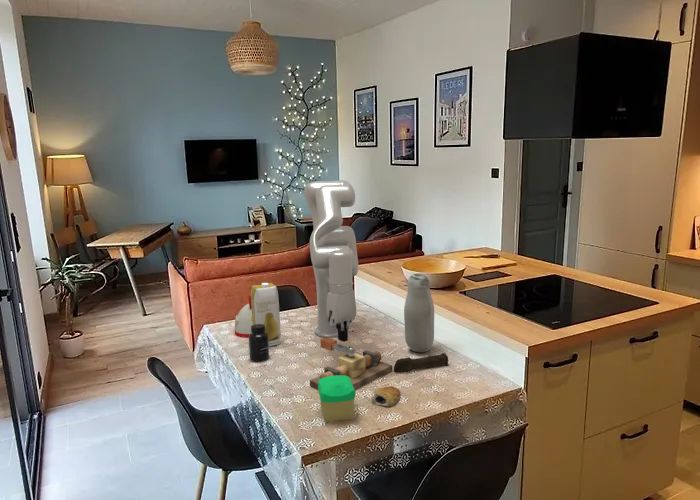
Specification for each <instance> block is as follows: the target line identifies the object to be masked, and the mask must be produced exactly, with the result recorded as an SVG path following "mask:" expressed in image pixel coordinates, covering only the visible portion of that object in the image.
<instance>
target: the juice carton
mask: <svg viewBox="0 0 700 500" xmlns="http://www.w3.org/2000/svg"><path fill="white" fill-rule="evenodd" d="M250 296H251V306H252V320H253V325H255V324H263V325H265V332H266V333H267V334H268V340H269V347H274V346H278V345H280V344H281V318H280V317H281V316H280V303H279V292H278V288H277V286H276V285H275V284H274V283H272V282H269V283H268V282H261V284H259V285H257V284H256V285H251V290H250Z"/></svg>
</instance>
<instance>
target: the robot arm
mask: <svg viewBox="0 0 700 500" xmlns="http://www.w3.org/2000/svg"><path fill="white" fill-rule="evenodd" d="M304 199H305V202H306V205H307V207H308V210H309V212H310V215H311V217H312V226H313V227H312V228H313V230H312V232H311V235H310V238H309V253H310V259H311V264H312V267H313V273H314V274H313V275H314V277H315V278H314V279H315V287H316V289H315V290H316V309H317V327H315V328H314V334H315V336H318V337H320V338H321V337H322V338H326V337H327V338H337V341H340V342H343V343H345V342H348V341H349V331H348V330H349V329H350V325H351V323H352V322H354V321H355V319H356V316H357V303H356V295H355V290H354V289H353V285H354V281H353V278H354V277H355V276H357V275H358V274H359V273H358V272H359V258H358V251H357V250H358V249H357V240H356V235H355V231H354V229H353V228H352V227H351V226H349V225H343V222H344V218H343V214H342V209H341V208H351V207H353V206H354V205H355V202H356V193H355V189H354V187H353V185H352V184H351V183H350V182H349V181H348V180H341V179H340V180H338V179H337V180H318V181H311V182H309V183H307V184H305V186H304Z"/></svg>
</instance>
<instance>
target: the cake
mask: <svg viewBox="0 0 700 500" xmlns="http://www.w3.org/2000/svg"><path fill="white" fill-rule="evenodd" d="M317 392H318V395H319V400H320V401H319V402H320V409H321V413H322V417H323V421H324V422H332V421H340V420H342V421H343V420H349V419H350V420H351V419H355V398H356V390H355V389H354V387H353V385H352V383H351V380H350V378H349V377H348V376H344V375H334V376H328V377H324V378H321V379H320V380H319V383H318V390H317Z"/></svg>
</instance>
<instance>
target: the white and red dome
mask: <svg viewBox="0 0 700 500" xmlns="http://www.w3.org/2000/svg"><path fill="white" fill-rule="evenodd" d="M252 325H253V320H252V306H251V295H248V303H247V304H245V305H244V306H243V307H242V308H241V309H240V310H239V312H238V314H237V315H235V319H234V335H235V336H236V337H238V338H242V337H243V338H242V339H244V338H245V339H249V335H250V334H251V333H252V332H251V326H252Z"/></svg>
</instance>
